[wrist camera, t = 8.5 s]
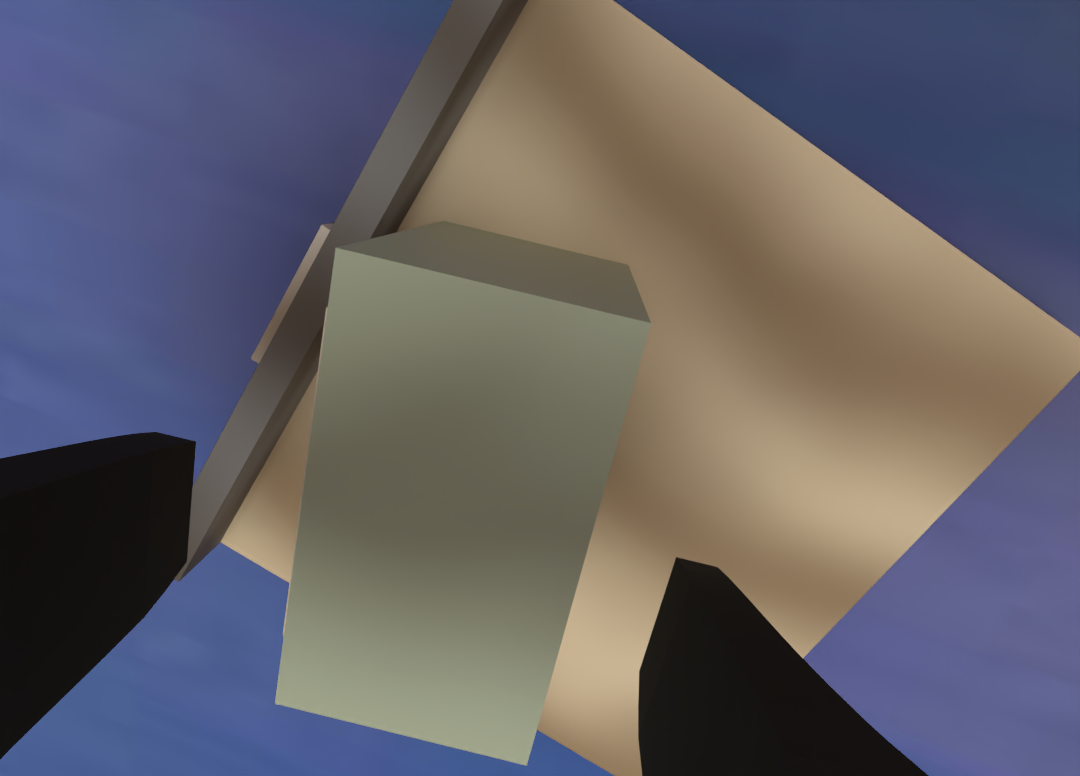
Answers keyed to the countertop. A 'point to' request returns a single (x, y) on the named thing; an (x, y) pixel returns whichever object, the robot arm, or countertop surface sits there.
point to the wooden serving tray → (675, 336)
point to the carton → (454, 480)
